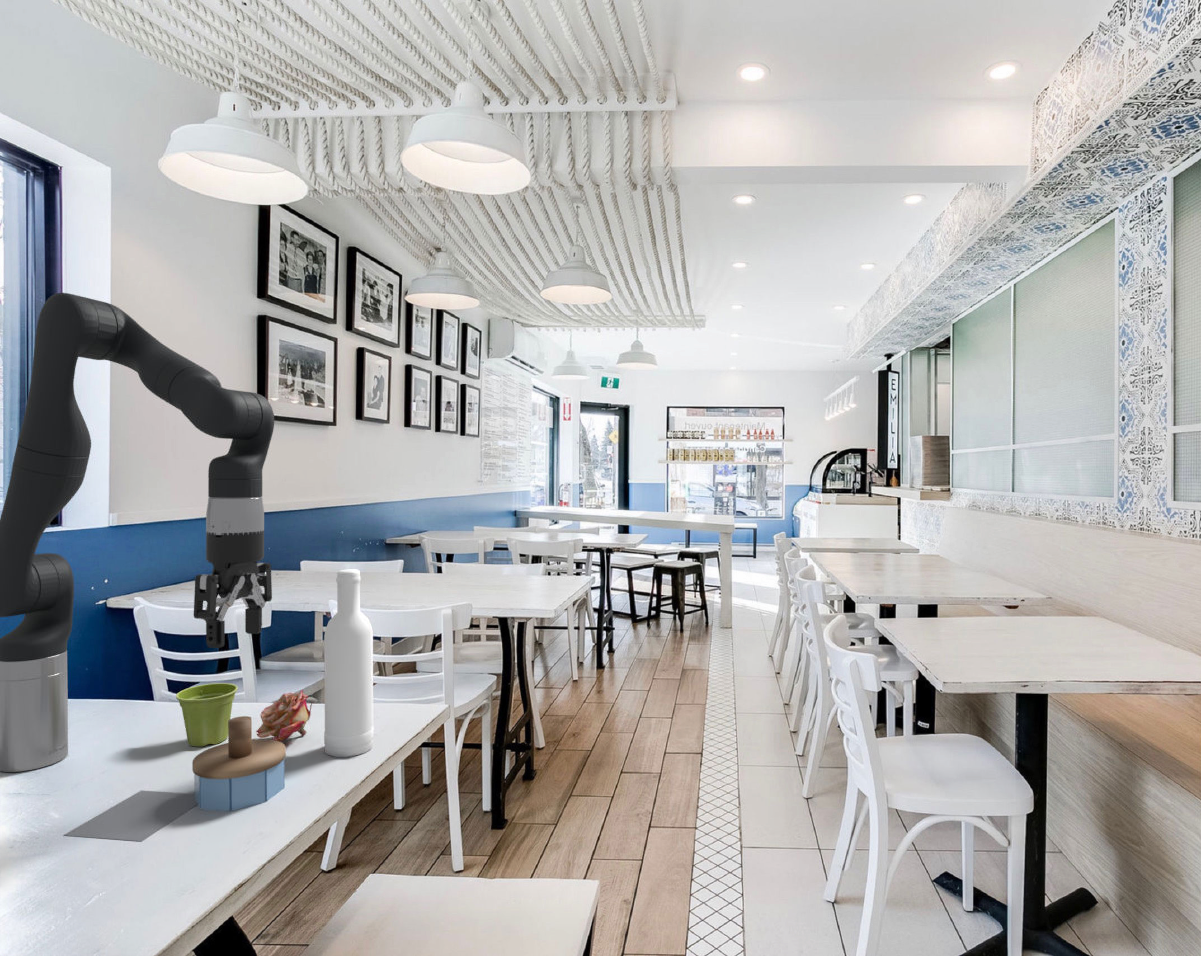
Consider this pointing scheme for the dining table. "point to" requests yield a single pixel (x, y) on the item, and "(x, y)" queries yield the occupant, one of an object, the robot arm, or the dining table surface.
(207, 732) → the plant pot
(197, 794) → the bowl
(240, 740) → the lid
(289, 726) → the flower
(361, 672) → the bottle
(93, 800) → the dining table surface
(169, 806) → the mat
